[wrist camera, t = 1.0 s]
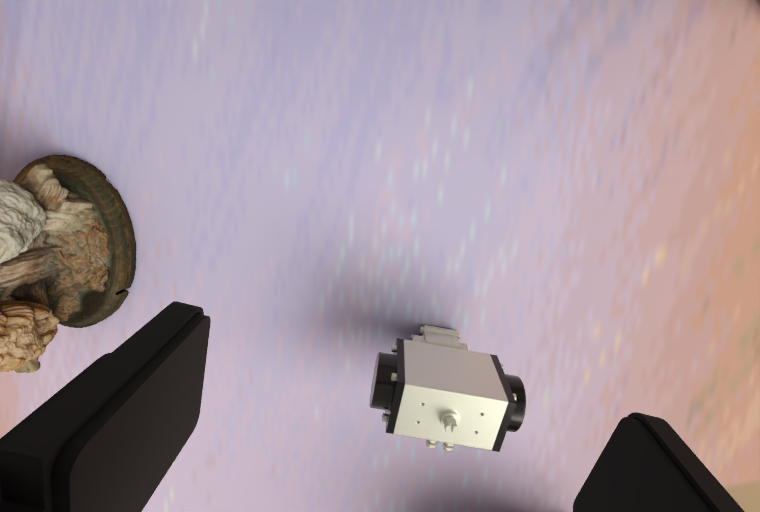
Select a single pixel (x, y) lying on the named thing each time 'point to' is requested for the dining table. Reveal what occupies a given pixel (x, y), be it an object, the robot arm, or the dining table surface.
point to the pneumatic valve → (446, 392)
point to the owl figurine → (59, 255)
